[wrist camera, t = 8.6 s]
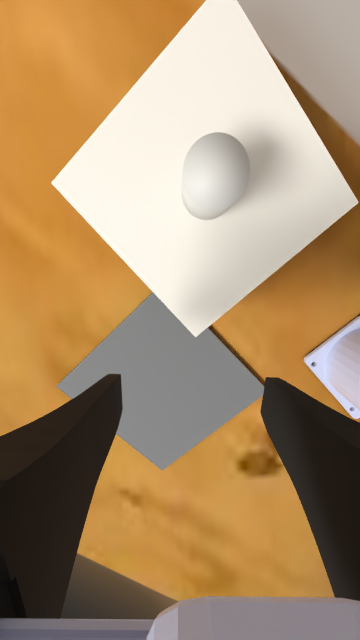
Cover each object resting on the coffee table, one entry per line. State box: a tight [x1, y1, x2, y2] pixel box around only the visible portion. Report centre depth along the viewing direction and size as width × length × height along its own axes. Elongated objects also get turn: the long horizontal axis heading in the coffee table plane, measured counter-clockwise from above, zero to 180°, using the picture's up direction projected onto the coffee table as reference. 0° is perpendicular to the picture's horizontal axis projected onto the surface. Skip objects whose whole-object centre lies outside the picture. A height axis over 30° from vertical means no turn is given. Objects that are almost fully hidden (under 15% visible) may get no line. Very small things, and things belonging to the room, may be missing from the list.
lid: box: [52, 0, 359, 337], centre depth 12 cm, size 13×13×4 cm
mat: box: [56, 293, 265, 470], centre depth 23 cm, size 15×15×1 cm
